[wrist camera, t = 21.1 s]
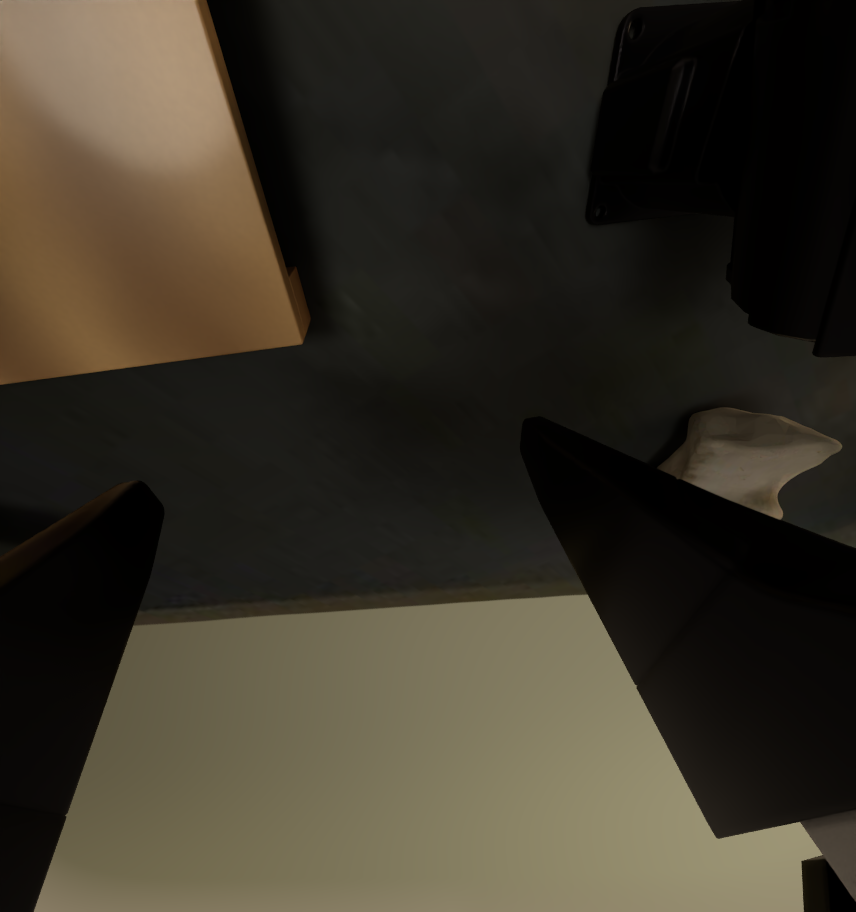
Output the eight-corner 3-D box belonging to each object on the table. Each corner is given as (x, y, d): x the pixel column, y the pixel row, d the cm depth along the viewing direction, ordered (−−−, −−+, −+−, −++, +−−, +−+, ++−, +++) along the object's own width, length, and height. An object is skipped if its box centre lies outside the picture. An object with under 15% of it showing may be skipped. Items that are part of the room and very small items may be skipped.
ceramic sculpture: (937, 472, 19) (729, 605, 29) (793, 390, 26) (662, 520, 35) (802, 456, 17) (621, 608, 26) (679, 369, 23) (570, 516, 32)
